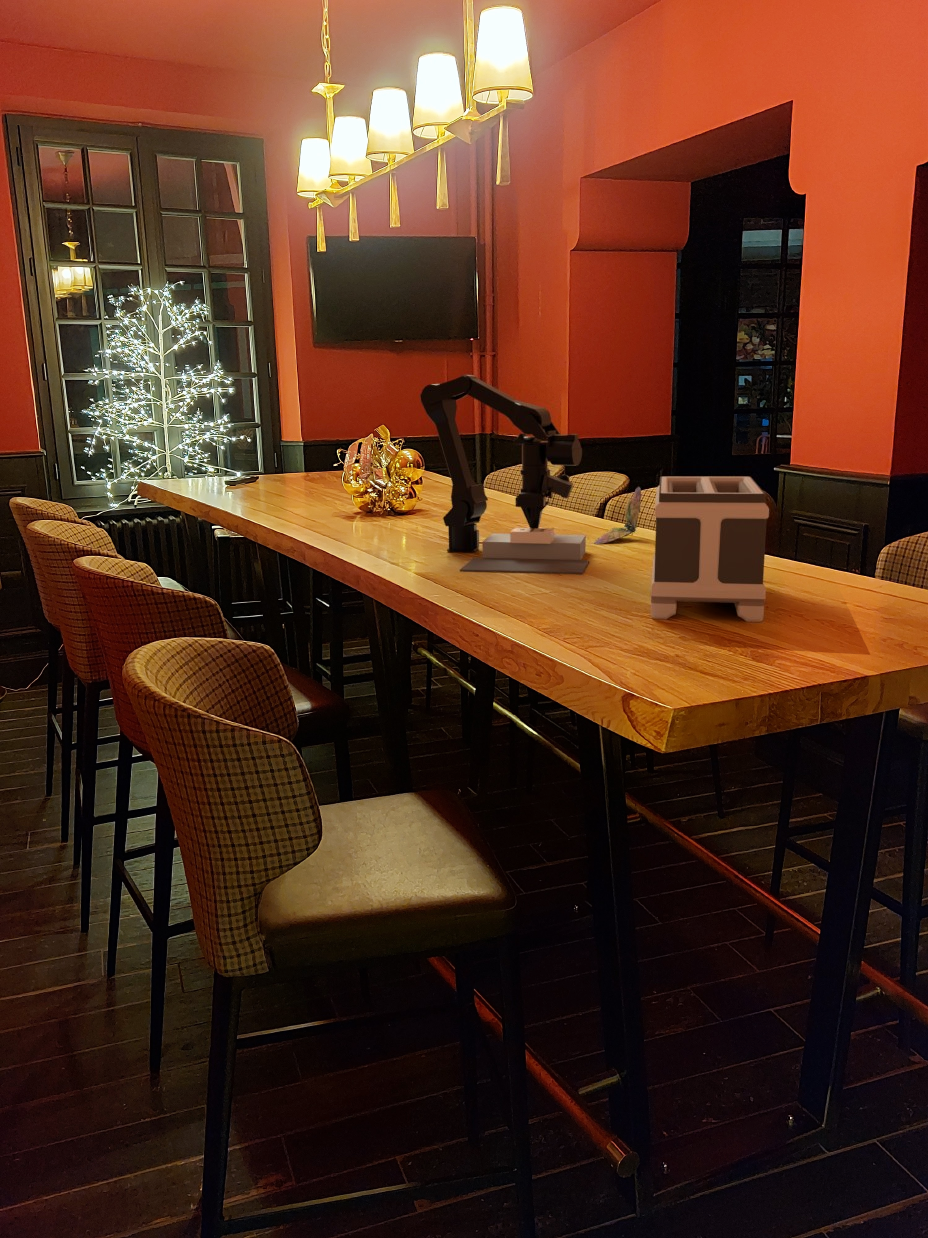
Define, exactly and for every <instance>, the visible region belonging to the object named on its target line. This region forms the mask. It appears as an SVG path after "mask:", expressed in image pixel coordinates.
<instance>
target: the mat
mask: <svg viewBox="0 0 928 1238" xmlns="http://www.w3.org/2000/svg"><path fill="white" fill-rule="evenodd" d="M589 563H590V560H589V559H581V560H562V559H516V558H483V557H473V558H472V559H470V560H469V561H468V562H467V563H466V564H464V565H463V566H462V567H461V568H460V569H459V572H479V573H480V572H481V573H482V572H483V573H515V574H516V573H519V574H521V573H522V574H555V575H556V574H558V575H559V574H561V575H584V573H585V571H586V569H587V567H588V565H589Z"/></svg>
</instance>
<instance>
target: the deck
mask: <svg viewBox="0 0 928 1238" xmlns="http://www.w3.org/2000/svg"><path fill="white" fill-rule="evenodd" d="M586 535H587V534H554V540H553V542H552V543H551V544H542V543H510V533H491V534H490V535H489V536H487V538H485V539H483V540H482V543H481V544H482V558H516V559H562V560H583V557H584V555H585V554H586V541H587V540H586V539H587V537H586Z"/></svg>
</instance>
